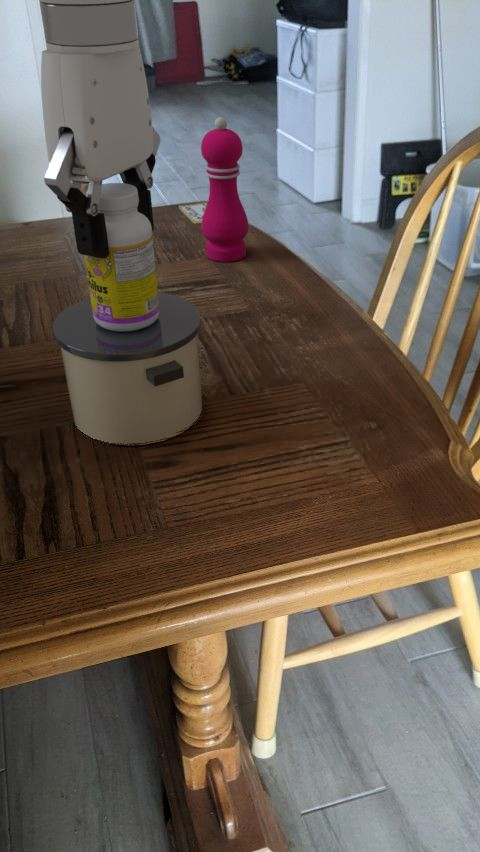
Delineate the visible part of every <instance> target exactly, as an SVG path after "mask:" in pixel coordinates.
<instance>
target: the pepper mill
mask: <svg viewBox="0 0 480 852" xmlns="http://www.w3.org/2000/svg"><path fill="white" fill-rule="evenodd" d="M227 126H228V121H227V119H225V118H224V117H222V116H219V117H217V118H215V121H214V129H211V130H209V131H208V132H207V133H205V134H204V135H203V138H202V140H201V144H200V152H201V156H202V158H203V159H204V160H205V162H206V165H205V169H206V170H205V171H206V172H205V175H206V177H207V178H208V181H209V195H208V199H207V203H206V206H205V209H204V212H203V214H202V219H201V228H200V229H201V233H202V235H203V237H205V238H206V240H207V242H206V243H205V255H206V257H207V258H208V259H209V260H211V261H215V262H220V263H230V262H236V261H239V260H241V259H243V258H244V257H246V255H247V245H246V244H247V243H246V242H245V240H244V239H245V237H246V236H247V235H248V234H249V220H248V216H247V213H246V211H245V208H244V206H243V204H242V201H241V199H240V196H239V193H238V177H239V176H240V174H241V171H240V164H239V163H238V162H239V161H240V159H241V157H242V155H243V143H242V140H241V137H240V136H239V134H238V133H237V132H235V131H234V130H232V129H229V128H227Z"/></svg>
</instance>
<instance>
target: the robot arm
mask: <svg viewBox="0 0 480 852" xmlns="http://www.w3.org/2000/svg"><path fill="white" fill-rule="evenodd" d="M39 7H40V13H41V20H42V27H43V33H44V40H45V47H46V49H45V50H42V51H41V63H40V88H41V90H40V91H41V106H42V107H41V108H42V119H43V127H44V128H43V129H44V136H45V145H46V152H47V157H48V163H49V164H48V167H47V169H46V172H45V174H44V177H43V181H44V184H45V185H46V187H47V188H48V189H50V190H51V192H52V193H53V194H54V195H55V196H56V198H57V199H58V200H59V201H60V202H61V203H62V204H63V205H64V207H65V210H66V211H67V212H68V213H71V218H72V219H71V220H72V224H73V232H74V239H75V243H76V244H75V245H76V250H77V253H78V254H80V255H81V256H82V255H83V256H84V255H87V256H92V257H97V258H102V259H104V258H106V257H108V256H109V246H108V238H107V230H106V223H105V216H104V213H98V211H99V205H100V197H101V189H102V184H103V183H104V182H103V181H106V180H107V179H110V178H112V177H114V176H117V175H119V177H120V179H121V181H122V183H125V184H130V185H133V186H135V187H136V188H137V191H138V198H139V203H138V207H137V211H138V212H139V213H141V214H143V215H144V216H146V217H147V218H148V220H149V221H150V223H151V227H152V232H153V231H154V229H155V225H154V223H155V222H154V213H153V202H152V193H151V190H150V189H152V188H153V186H154V178H153V175H152V174H153V171H154V168H155V165H156V161H157V160H156V156H157V153H158V149H159V146H160V144H161V136H160V134H159V133H158V132H157V130H156V129H155V128H154V127H153V119H152V118H153V117H152V110H151V102H150V95H149V89H148V83H147V76H146V71H145V66H144V61H143V57H142V52H141V49H140V40H139V30H138V20H137V9H136V7H137V6H136V0H39ZM83 170H85V174H82V171H83ZM82 184H83V185H88V187H87V190H88V193H87V197H86V194H84V193H83V192H82Z"/></svg>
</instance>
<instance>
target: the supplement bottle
mask: <svg viewBox="0 0 480 852" xmlns="http://www.w3.org/2000/svg"><path fill="white" fill-rule="evenodd" d="M87 193H88V189H87V190H86V191H85V196H86V197H87ZM138 203H139V198H138V191H137V188H136V187H135V186H133V185H130V184H125V183H123V182H107V183H102V189H101V197H100V205H99V211H98V213H104V216H105V223H106V230H107V238H108V246H109V256H108V257H106V258H104V259H102V258H97V257H92V256H87V255H83V256H84V263H85V272H86V276H87V277H86V278H87V284H88V285H87V286H88V290H89V291H88V292H89V298H91V305H92V311H93V317H94V320H95V322H96V323H97V324H98V325H99V326H101V327H103V328H105V329H108V330H112V331H120V332H125V331H134V330H138V329H142V328H145V327H147V326H149V325H151V324H152V323H154V322H155V321H156V320H157V318H158V316H159V301H158V292H159V291H158V281H157V280H158V279H157V271H156V270H157V269H156V259H155V249H154V237H153V231H152V227H151V223H150V221H149V220H148V218H147V217H146V216H144V215H143V214H141V213H139V212H138V211H137V207H138Z"/></svg>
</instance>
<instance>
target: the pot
mask: <svg viewBox="0 0 480 852" xmlns="http://www.w3.org/2000/svg"><path fill="white" fill-rule="evenodd" d="M158 301H159V316H158V318H157V320H156V321H155V322H154V323H152V324H151V325H149V326H147V327H145V328H142V329H138V330H134V331H125V332H120V331H112V330H108V329H105V328H103V327H101V326H99V325H98V324H97V323H96V322H95V320H94V317H93V311H92V305H91V298H90V297H87V298H85V299H82V300H79V301H78V302H75V303H73V304H71V305H70V306H67V308H65V309H63V311H61V312H60V313H59V314H58V315H57V317H56V318H55V320H54V322H53V325H52V332H53V337H54V339H55V342H56V343H57V345H58V346H59V347H60V353H61V358H62V363H63V369H64V374H65V380H66V385H67V390H68V396H69V402H70V407H71V412H72V417H73V423H74V425H75V427H76V426H77V427H76V428H77V430H78V429H79V430H80V431H81V432H83V433H84V434H86V435H88V436H90V437H91V438H93V439H97V440H101V441H104V442H109V443H116V444H117V443H119V444H120V443H122V444H123V443H124V444H127V443H130V444H131V443H145V442H150V441H156V440H160V439H163V438H166V437H169V436H171V435H173V434H175V433H176V432H179V431H181V430H182V429H184V428H186V427H188V426H189V425H190V424H192V423H193V422H194V421H195V420H196V419H197V418H198V416H199V415H200V413H201V411H202V412H203V408H202V407H203V395H202V393H203V392H202V380H201V379H202V377H201V365H200V363H201V361H200V347H199V332H200V331H201V328H202V327H201V326H202V320H201V319H202V318H201V313H200V311H199V309H198V308H197V307H196V306H195V305H194V304H193V303H192V302H190V301H189V300H188V299H185V298H183V297H181V296H177V295H175V294H171V293H167V292H160V291H158ZM201 414H202V413H201ZM79 430H78V431H79ZM80 431H79V432H80ZM81 432H80V433H81ZM84 434H83V435H84Z"/></svg>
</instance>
